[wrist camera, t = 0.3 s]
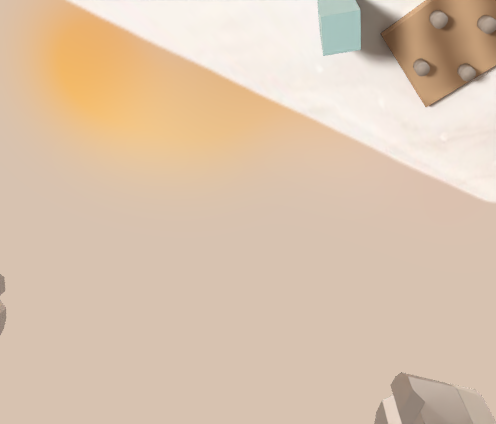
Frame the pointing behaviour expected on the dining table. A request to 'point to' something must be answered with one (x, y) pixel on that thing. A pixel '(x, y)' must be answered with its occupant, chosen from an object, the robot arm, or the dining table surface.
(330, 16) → the block
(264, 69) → the dining table surface
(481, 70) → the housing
